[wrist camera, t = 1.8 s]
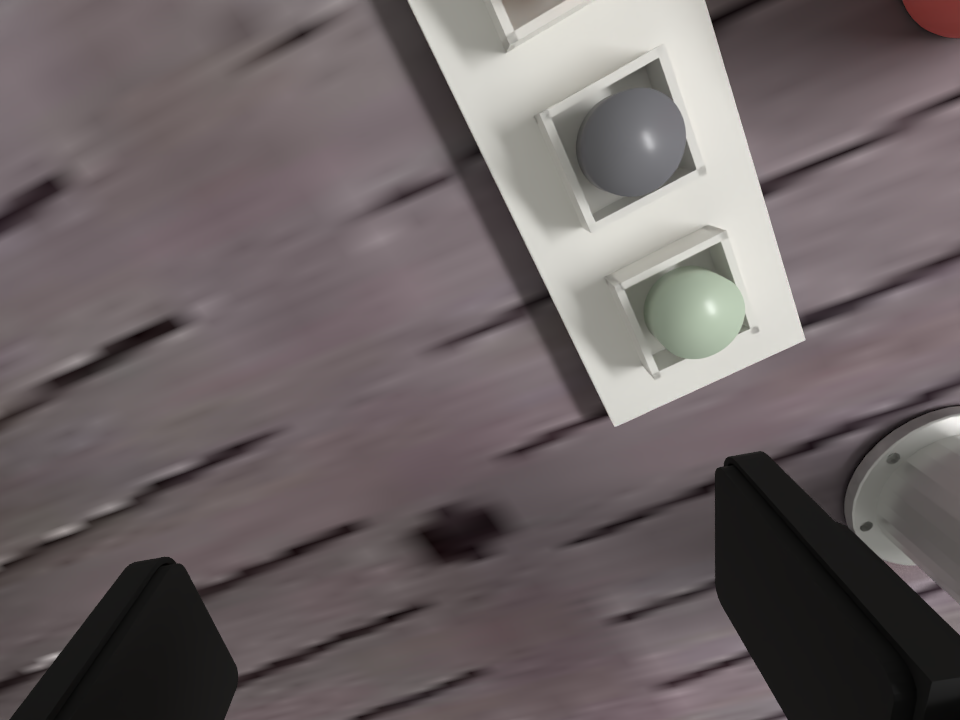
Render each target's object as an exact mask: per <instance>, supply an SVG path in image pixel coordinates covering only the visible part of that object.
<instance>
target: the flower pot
mask: <svg viewBox="0 0 960 720" xmlns="http://www.w3.org/2000/svg"><path fill="white" fill-rule="evenodd" d="M903 3H904V5H905V8H906V10H907V11H908V13H909V14H910V15H911V17H912V18H913V19H914V20H915V21H916V22H917V23H918V24H919V25H920V26H921V27H923V28H924V29H926V30H928V31H930V32H932V33H934V34H937V35H940V36H943V37H948V38H960V0H903Z"/></svg>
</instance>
